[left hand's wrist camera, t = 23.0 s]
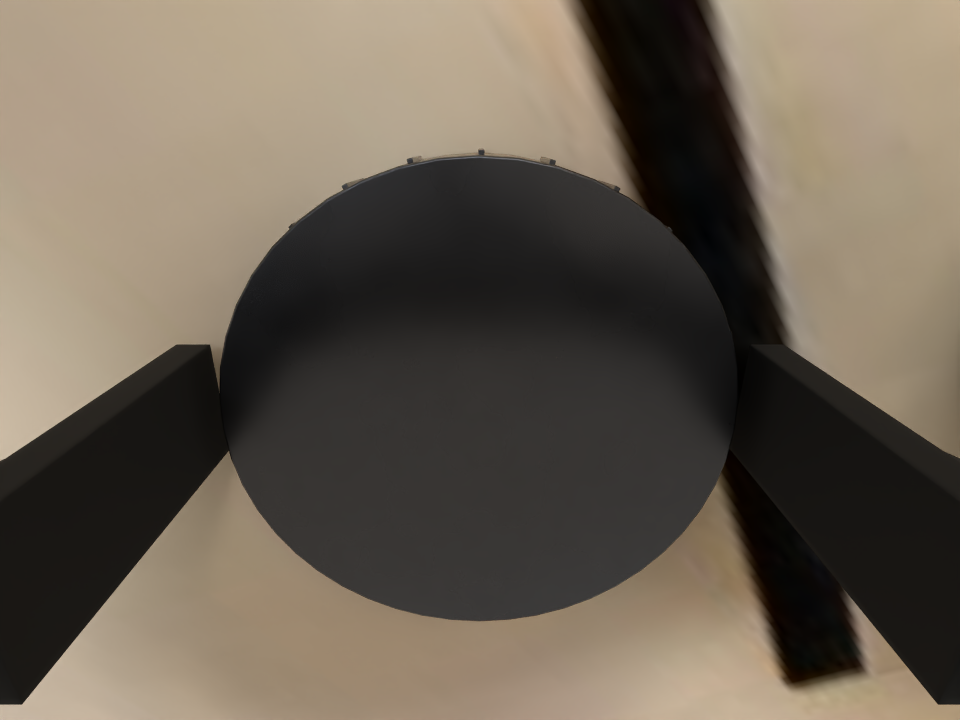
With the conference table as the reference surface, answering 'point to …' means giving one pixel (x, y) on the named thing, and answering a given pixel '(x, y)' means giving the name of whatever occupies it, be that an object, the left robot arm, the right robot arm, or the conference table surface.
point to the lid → (478, 387)
